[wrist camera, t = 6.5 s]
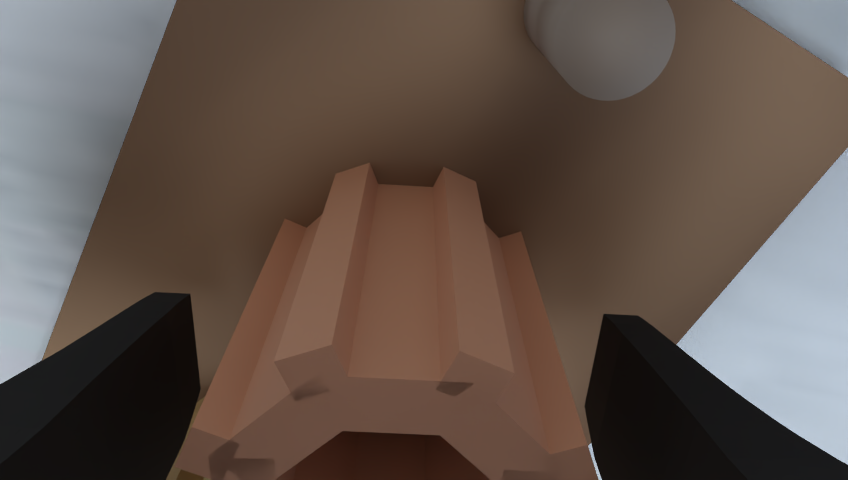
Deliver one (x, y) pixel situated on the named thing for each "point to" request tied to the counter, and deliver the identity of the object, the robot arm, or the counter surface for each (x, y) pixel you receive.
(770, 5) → the counter surface
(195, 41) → the gear board
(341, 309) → the gear
